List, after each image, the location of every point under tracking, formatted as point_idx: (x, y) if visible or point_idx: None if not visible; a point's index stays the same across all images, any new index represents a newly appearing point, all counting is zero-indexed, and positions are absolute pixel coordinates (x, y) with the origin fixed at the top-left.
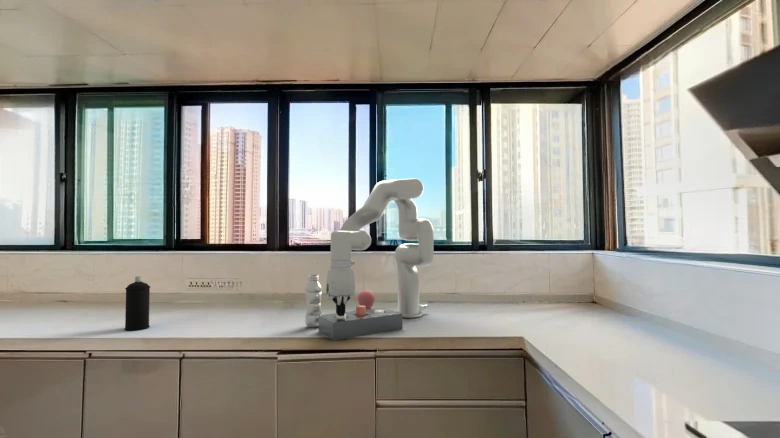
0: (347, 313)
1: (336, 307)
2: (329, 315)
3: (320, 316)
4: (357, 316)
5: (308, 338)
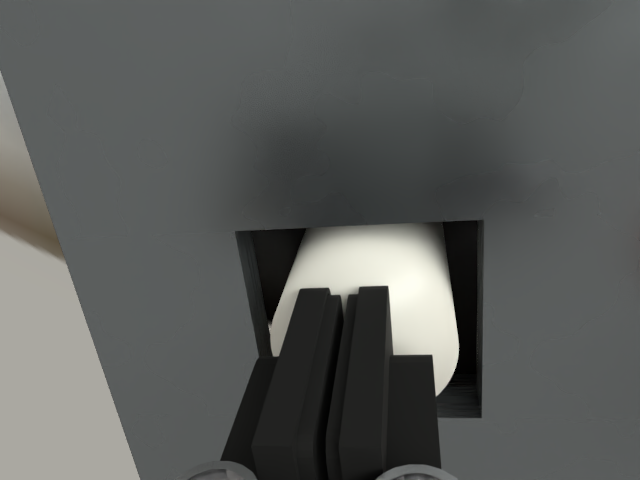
0: (627, 101)
1: (236, 446)
2: (191, 117)
3: (14, 104)
4: (634, 431)
5: (6, 227)
